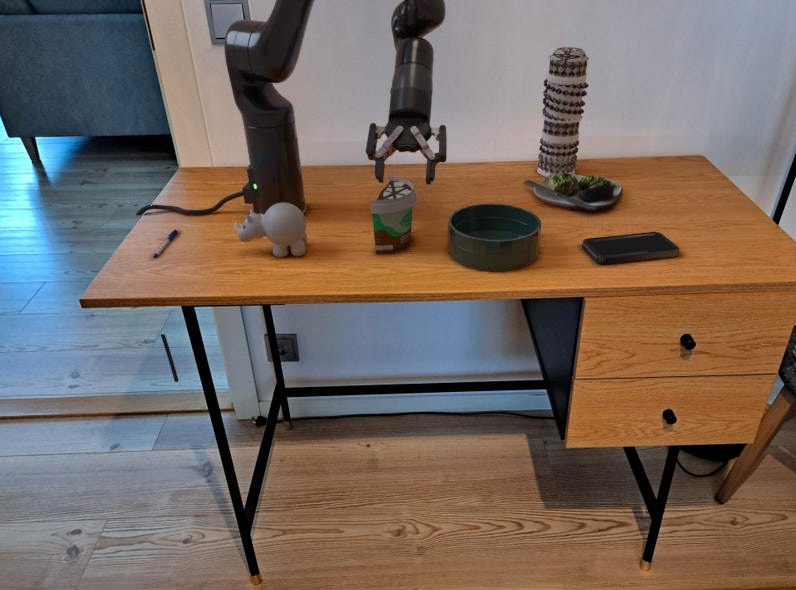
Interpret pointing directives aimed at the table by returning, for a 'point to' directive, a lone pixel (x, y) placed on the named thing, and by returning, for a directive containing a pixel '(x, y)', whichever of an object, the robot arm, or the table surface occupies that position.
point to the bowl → (493, 237)
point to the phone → (629, 247)
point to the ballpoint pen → (166, 242)
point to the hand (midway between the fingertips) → (403, 181)
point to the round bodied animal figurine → (277, 229)
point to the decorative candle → (562, 111)
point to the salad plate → (577, 192)
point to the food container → (393, 216)
